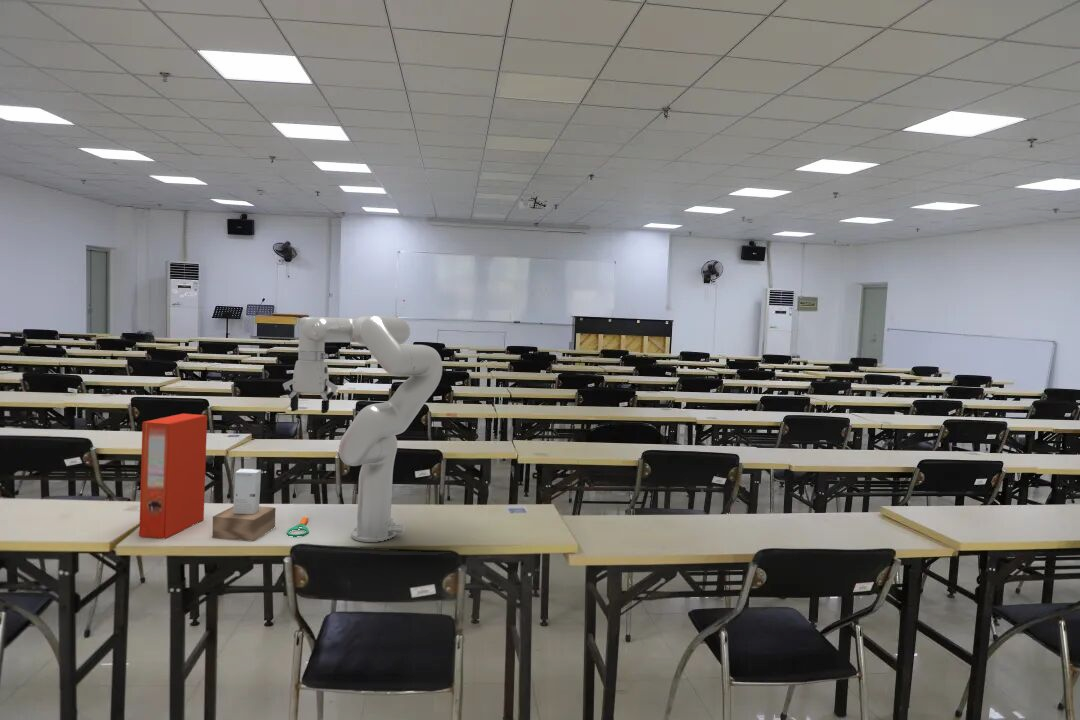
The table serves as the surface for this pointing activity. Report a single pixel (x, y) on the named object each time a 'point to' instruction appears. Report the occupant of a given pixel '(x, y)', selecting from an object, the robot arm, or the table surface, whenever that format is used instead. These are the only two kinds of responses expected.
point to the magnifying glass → (301, 524)
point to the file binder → (172, 474)
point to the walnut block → (243, 524)
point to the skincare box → (247, 491)
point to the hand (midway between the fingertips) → (309, 411)
